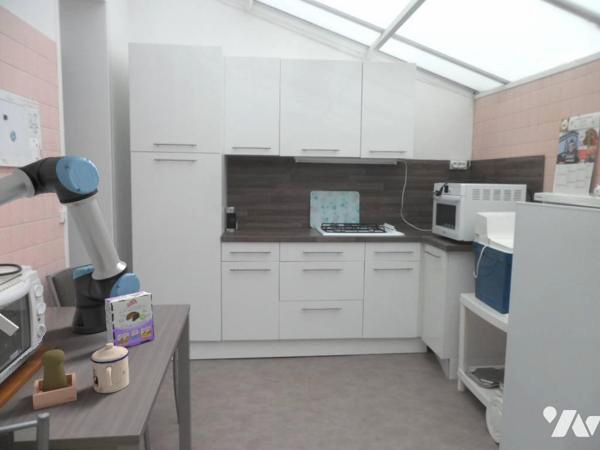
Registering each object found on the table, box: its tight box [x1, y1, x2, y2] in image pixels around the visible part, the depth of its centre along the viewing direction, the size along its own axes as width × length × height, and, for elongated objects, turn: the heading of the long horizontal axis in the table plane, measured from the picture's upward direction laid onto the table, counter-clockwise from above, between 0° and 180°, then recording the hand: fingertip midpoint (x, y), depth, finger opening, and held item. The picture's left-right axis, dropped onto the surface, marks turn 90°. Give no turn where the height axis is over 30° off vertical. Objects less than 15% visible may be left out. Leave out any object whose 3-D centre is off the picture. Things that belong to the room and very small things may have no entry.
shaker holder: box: [32, 372, 78, 411], centre depth 109 cm, size 9×9×4 cm
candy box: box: [105, 290, 155, 349], centre depth 142 cm, size 14×6×16 cm, turn 134°
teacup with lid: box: [90, 342, 130, 394], centre depth 112 cm, size 12×9×12 cm
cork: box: [40, 349, 68, 393], centre depth 108 cm, size 6×6×11 cm
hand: (3, 341), depth 105 cm, fingers open, 13 cm apart
